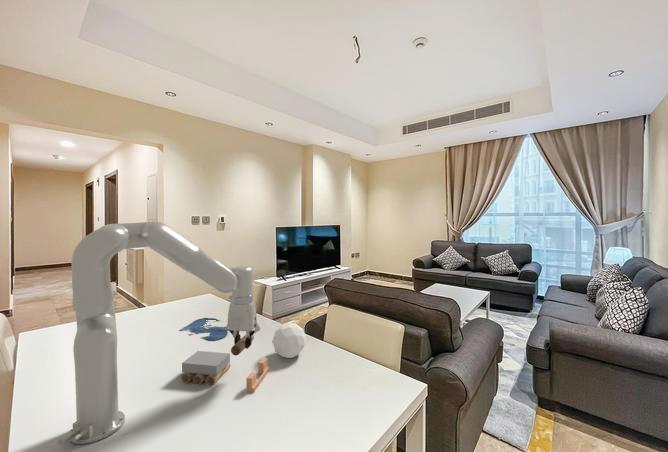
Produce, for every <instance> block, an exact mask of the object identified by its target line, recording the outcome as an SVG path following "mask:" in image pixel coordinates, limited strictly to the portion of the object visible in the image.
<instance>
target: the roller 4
mask: <svg viewBox="0 0 668 452" xmlns="http://www.w3.org/2000/svg"><path fill="white" fill-rule="evenodd" d="M246 338H247V335H246V334H245V335H243V336H242V337H241V339H240V340H239V341H238V342H237V343H236V344H233V345H232V347H231V349H230V354H232V355H233V356H239V355H240V354H241V353H242V352H244V350H245V349H246V341H245V339H246ZM254 340H255V336H254V334H253V335H252V342H253V341H254Z"/></svg>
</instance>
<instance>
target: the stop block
mask: <svg viewBox="0 0 668 452" xmlns="http://www.w3.org/2000/svg"><path fill="white" fill-rule="evenodd" d="M269 372H270V366H268V357H262V358H261V360H259V362H258V376H259V378H258V379H257V372H254V371H251V372H250V373H249V374H248V376H247V377H246V382H245V383H246V387H245V388H246V389H245V390H246V391H245V392H246V393H251V394H252V393H253V394H255V392H256V390H257V389H258V387H259V386H260V384H261V383H262V382H263V380H264V379H265V378H266V376H267V374H269Z"/></svg>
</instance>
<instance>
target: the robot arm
mask: <svg viewBox="0 0 668 452" xmlns="http://www.w3.org/2000/svg"><path fill="white" fill-rule="evenodd" d="M146 247H147V248H149V249H150V250H153V251H154V252H156V253H157V254H158V255H161V256H162V257H163V258H165V259H166V260H168V261H170V262H172V263H173V264H174V265H176V266H177V267H179V268H180V269H182V270H184V271H185V272H187V273H190V274H191V275H193V276H195V277H197V278H198V279H200V280H201V281H203V282H205V283H206V284H208V285H210V286H211V287H212V288H214V289H215V290H217V291H218V292H220V293H223V294H229V293H231V295H229V296H228V300H230V301H231V302H230V303H229V306H228V310H227V311H228V312H227V324H226V326H225V327H226V329H227V332H229V333H230V334H231V335H232V338H234V339H233V341H234V344H233V345H235V344H236V343H237V342H238V341H239V340H240V339H241V338H242V337H241V334H240V332H245V335H247V338H246V339H245V341H246V348H245V349H246V350H248V349H249V348H250V347H251V346H252V344H253V343H252V342H253V341H252V335H254V334H256V333H258V332H259V331H261V327H260V325H259V323H258V315H257V308H256V304H255V301H254V298H253V297H254V295H253V293H254V291H253V290H254V289H253V288H254V286H253V285H254V284H253V283H254V282H253V279H254V277H253V268H252V266H247V265H245V266H244V265H242V266H241V265H239V266H235V267H226V266H224V265H223V264H221V263H220V262H219V261H217V260H216V259H215V258H213V257H212V256H210V255H209V254H208V253H206V252H205V251H204V250H202V249H201V248H200V247H199V246H197V245H196V244H195V243H193V242H191V241H190V240H189V239H187V238H186V237H184V236H183V235H182V234H180V233H179V232H177V231H176V230H174V229H173V228H172V227H170V226H169V225H167V224H165V223H163V222H159V221H144V222H128V223H127V222H125V223H123V222H122V223H108V224H104V225H102V226H100V227H99V228H97V229H96V230H94V231H92V232H90V233H88V234H87V235H86V236H84V237H83V238H82V239H81V240H80V241H79V242H78V244H77V245H76V247H75V248H74V250H73V252H72V256H71V287H72V289H71V290H72V301H71V302H72V303H71V305H72V308H73V311H74V313H75V318H76V319H75V320H76V321H75V322H76V333H75V335H74V340H73V350H72V351H73V361H74V376H75V377H74V379H75V382H74V383H75V408H76V409H75V410H76V411H75V412H76V415H75V416H76V421H75V422H73V423H72V428H71V429H70V430H69V431H68V432H67V433H66V434H65V435H63V436H62V437H59V438H58V440H57V443H58V445H59V446H61V447H62V446H64V445H66V444H67V443H69V441H70V442H71V443H72V444H75V445H87V444H90V443H91V444H92V443H94V442H97V441H100V440H103V439H105V438H107V437H109V436H111V435H112V434H114V433H115V432H116V431H118V430H119V429H120V428H121V427H122V425H123V424H124V423H125V420H126V419H125V418H126V416H125V413H124V412H123V411H121V410H119V392H118V391H119V390H118V389H119V387H118V385H119V383H118V381H119V380H118V330H117V322H116V308H115V307H116V306H115V292H114V289H113V286H112V282H111V281H112V280H111V260H112V258H113V257H114V256H115V255H116V254H118V253H121V252H122V251H123V250H129V249H138V248H139V249H141V248H146Z"/></svg>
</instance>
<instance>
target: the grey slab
mask: <svg viewBox="0 0 668 452" xmlns="http://www.w3.org/2000/svg"><path fill="white" fill-rule="evenodd" d="M229 362H230V363H231V352H229V353H228V352H217V351H203V350H197V351H196V352H195V353H193V354H191V356H189V357H188V358H186V359H185V360H184V361H183V362H182V363H181V373H185V372H186V373H197V374H207V375H217V374H218V373H219V372H220V371H221V370H222V369H223V368H224V367H225V366H226V365H227V364H228V363H229Z"/></svg>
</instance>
